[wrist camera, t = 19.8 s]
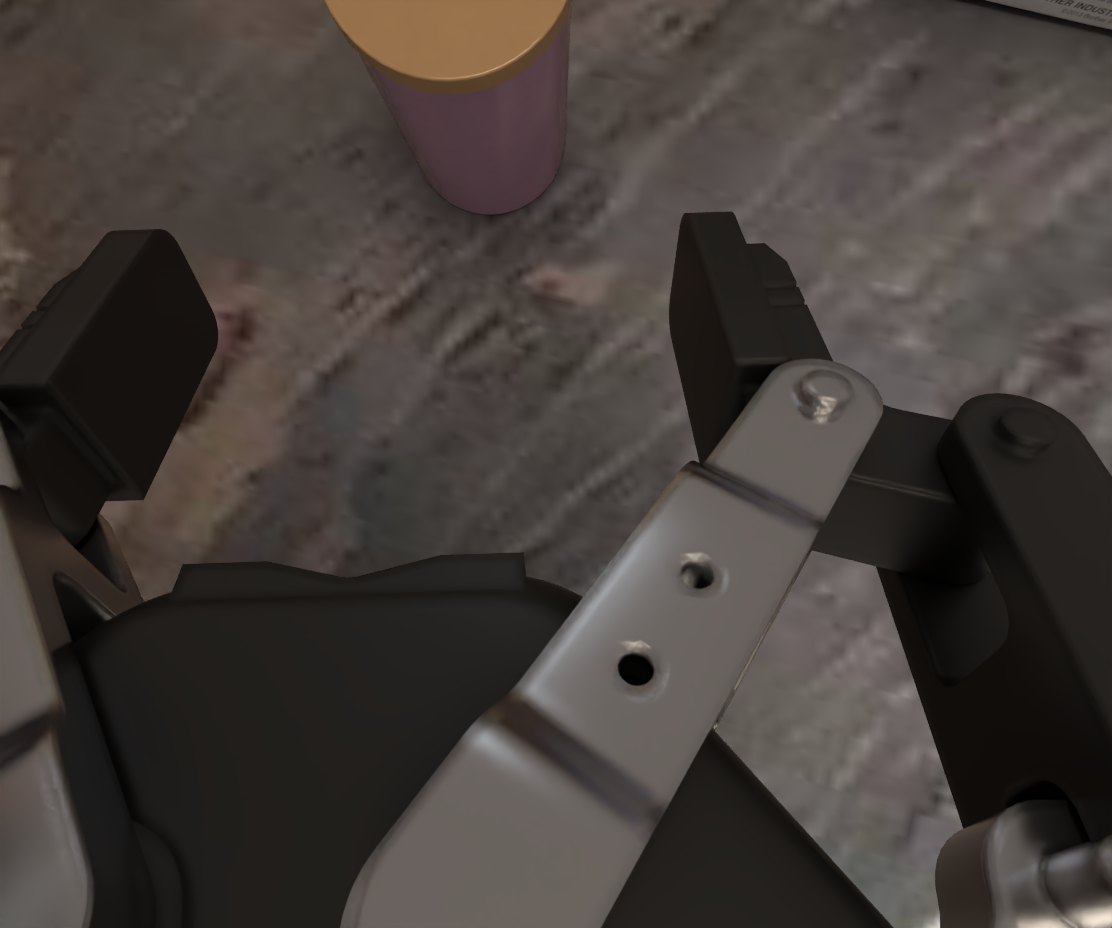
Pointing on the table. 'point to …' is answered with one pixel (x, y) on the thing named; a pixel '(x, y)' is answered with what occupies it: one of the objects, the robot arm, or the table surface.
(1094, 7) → the ink cartridge box
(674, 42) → the table surface
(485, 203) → the spice jar
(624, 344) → the table surface
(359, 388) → the table surface
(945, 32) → the table surface
